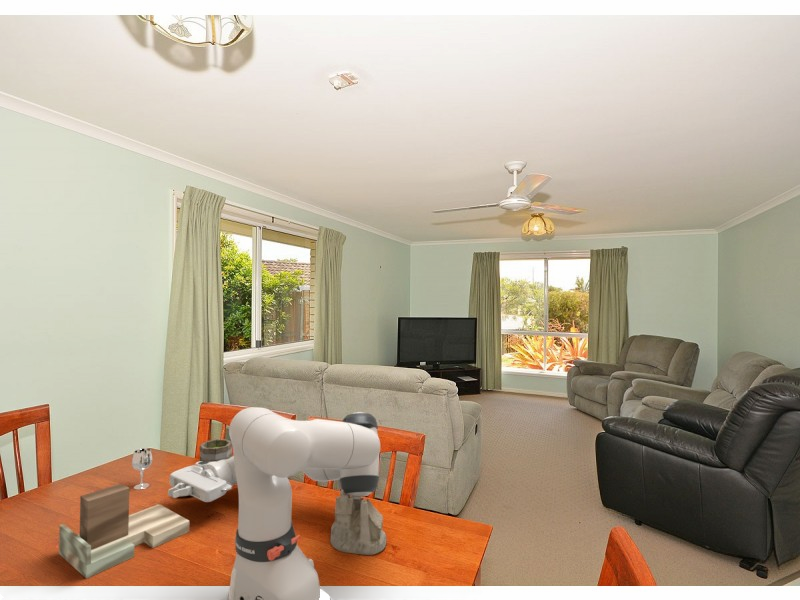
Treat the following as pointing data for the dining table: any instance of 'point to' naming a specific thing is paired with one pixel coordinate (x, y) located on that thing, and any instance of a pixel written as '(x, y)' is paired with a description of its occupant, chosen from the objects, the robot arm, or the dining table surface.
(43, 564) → the dining table surface
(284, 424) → the robot arm
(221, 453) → the mug
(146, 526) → the cream block stand
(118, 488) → the walnut block
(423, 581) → the dining table surface
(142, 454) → the wineglass
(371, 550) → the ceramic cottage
